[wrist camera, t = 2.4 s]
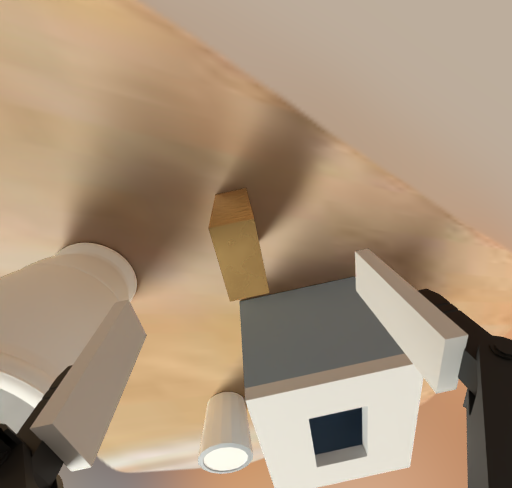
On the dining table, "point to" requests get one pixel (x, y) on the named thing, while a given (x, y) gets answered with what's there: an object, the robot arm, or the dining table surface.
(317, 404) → the box
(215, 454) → the white cylinder
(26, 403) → the jar
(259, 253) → the wooden rectangular block
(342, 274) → the dining table surface
